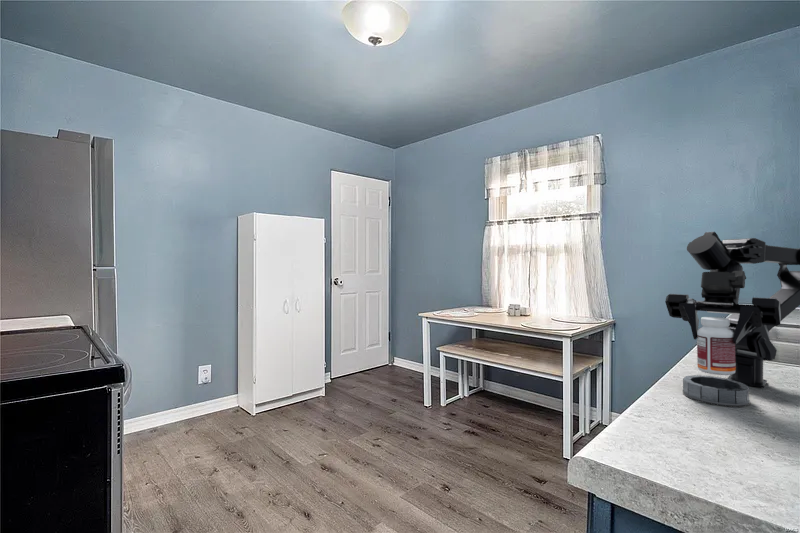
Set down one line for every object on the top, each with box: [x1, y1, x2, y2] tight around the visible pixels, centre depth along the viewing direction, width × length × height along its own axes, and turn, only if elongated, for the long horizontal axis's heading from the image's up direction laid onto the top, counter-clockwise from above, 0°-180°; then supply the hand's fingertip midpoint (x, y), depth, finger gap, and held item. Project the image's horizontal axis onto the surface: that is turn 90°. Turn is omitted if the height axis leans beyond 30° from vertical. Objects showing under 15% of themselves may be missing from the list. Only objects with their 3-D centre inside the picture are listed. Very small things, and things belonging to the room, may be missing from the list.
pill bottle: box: [696, 316, 736, 376], centre depth 82 cm, size 6×6×11 cm
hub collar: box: [682, 374, 751, 408], centre depth 82 cm, size 11×11×3 cm
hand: (714, 340), depth 81 cm, fingers closed on pill bottle, 6 cm apart
